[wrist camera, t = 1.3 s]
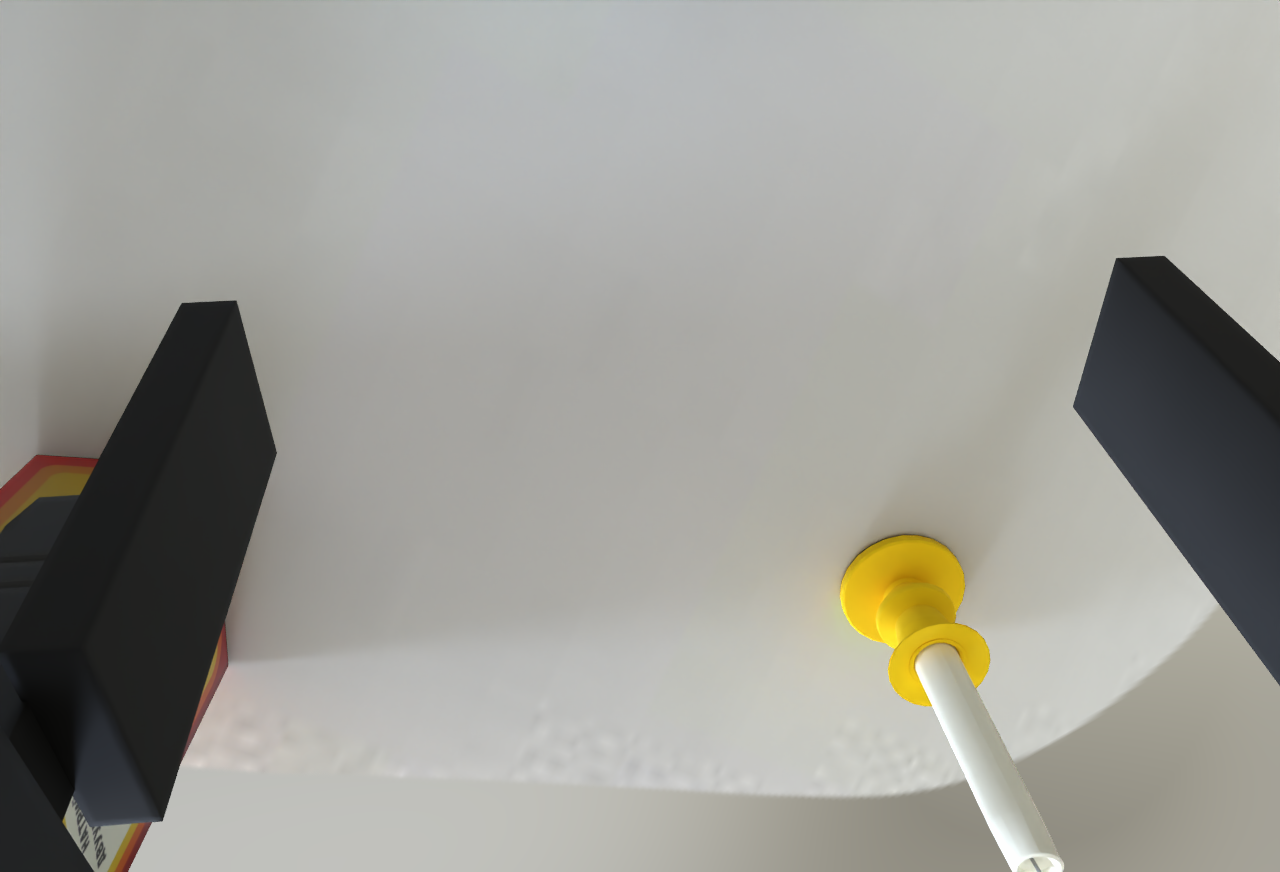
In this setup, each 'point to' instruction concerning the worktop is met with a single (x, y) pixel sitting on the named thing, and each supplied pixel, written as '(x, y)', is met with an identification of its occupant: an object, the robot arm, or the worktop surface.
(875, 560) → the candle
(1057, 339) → the worktop surface
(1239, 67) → the worktop surface
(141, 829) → the baking soda box
